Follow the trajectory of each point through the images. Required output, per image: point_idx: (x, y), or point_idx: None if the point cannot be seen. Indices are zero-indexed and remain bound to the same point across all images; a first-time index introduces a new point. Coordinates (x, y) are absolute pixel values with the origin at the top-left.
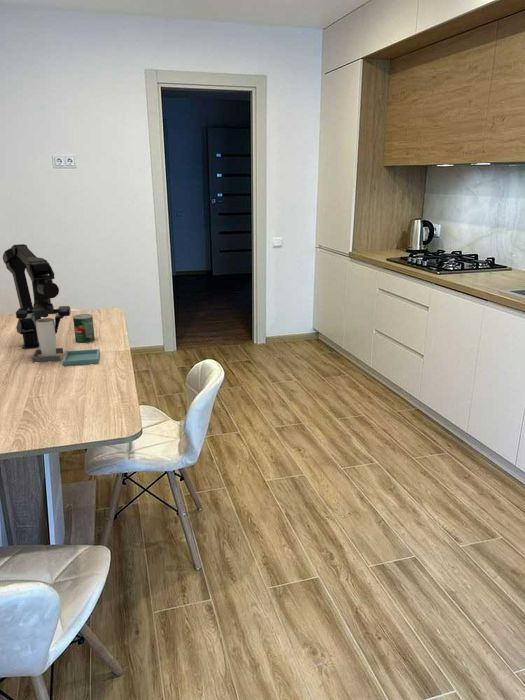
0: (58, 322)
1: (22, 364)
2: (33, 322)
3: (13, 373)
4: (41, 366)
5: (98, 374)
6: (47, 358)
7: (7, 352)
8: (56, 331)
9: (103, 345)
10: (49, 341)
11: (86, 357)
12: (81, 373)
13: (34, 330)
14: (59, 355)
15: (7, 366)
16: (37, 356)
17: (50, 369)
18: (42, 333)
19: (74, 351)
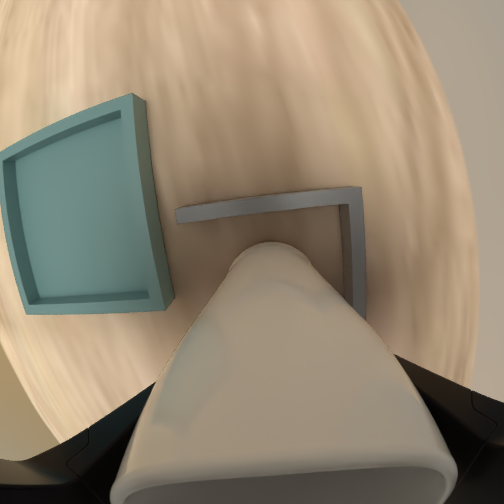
0: (50, 452)
1: (397, 165)
2: (489, 443)
3: (388, 32)
4: (275, 108)
5: (18, 43)
6: (258, 196)
7: (469, 361)
8: (150, 389)
9: (79, 409)
10: (234, 280)
11: (58, 237)
12: (63, 33)
13: (425, 374)
14: (177, 218)
15: (454, 148)
16: (345, 295)
17: (205, 57)
18: (307, 302)
19: (115, 300)
